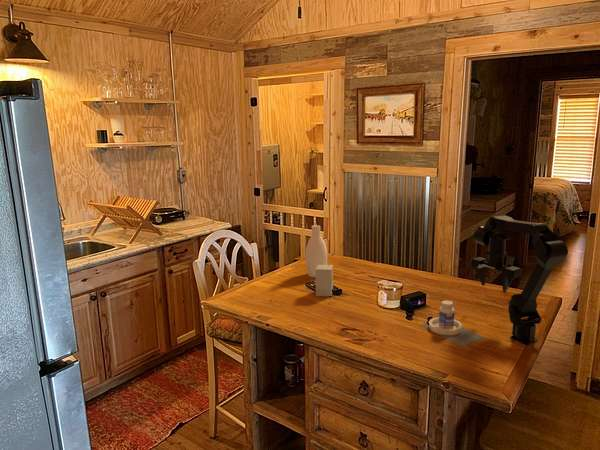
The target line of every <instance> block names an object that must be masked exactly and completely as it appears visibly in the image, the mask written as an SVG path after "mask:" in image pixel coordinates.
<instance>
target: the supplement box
mask: <svg viewBox="0 0 600 450" xmlns="http://www.w3.org/2000/svg"><path fill="white" fill-rule="evenodd" d="M333 268H334V265H333V264H327V265H317V267H316V278H315V297H329V296H331V297H333V296H332V295H333V292H332V289H333V290H334V269H333Z"/></svg>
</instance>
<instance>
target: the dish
mask: <svg viewBox="0 0 600 450" xmlns="http://www.w3.org/2000/svg"><path fill="white" fill-rule="evenodd" d="M428 323H429V329H430V330H431V331H430V332H432V331H433V332H432V333H434V332H435V333H434V334H436V333H437V334H436V335H438V334H441V335H457V334H459V333H461V331H462V327H463V324H462V323H461V322H460V321H459V320H457V319H455V318H454V328H453V329H442V328H440V327H439V316H438V317H434V318H433V317H432V318H430V319H429V321H428Z"/></svg>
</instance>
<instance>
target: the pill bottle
mask: <svg viewBox="0 0 600 450" xmlns="http://www.w3.org/2000/svg"><path fill="white" fill-rule="evenodd" d="M438 311H439V313H438V317H439V327H440V328H442V329H453V328H454V319H455V313H456V312H455V311H456V310H455V308H454V302H453V301H451V300H443V301H441V305H440V307H439V310H438Z"/></svg>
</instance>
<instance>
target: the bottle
mask: <svg viewBox="0 0 600 450" xmlns="http://www.w3.org/2000/svg"><path fill="white" fill-rule="evenodd" d="M304 255H305V266H306V271H307V275H308V276H309V277H310V278H315V279H316V267H317V265H328V248H327V245H326V242H325V241H324V239H323V237H322V234H321V225H318V224H316V225H314V224H313V225H311V236H310V238H309V239H308V241H307V244H306V247H305V254H304Z"/></svg>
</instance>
